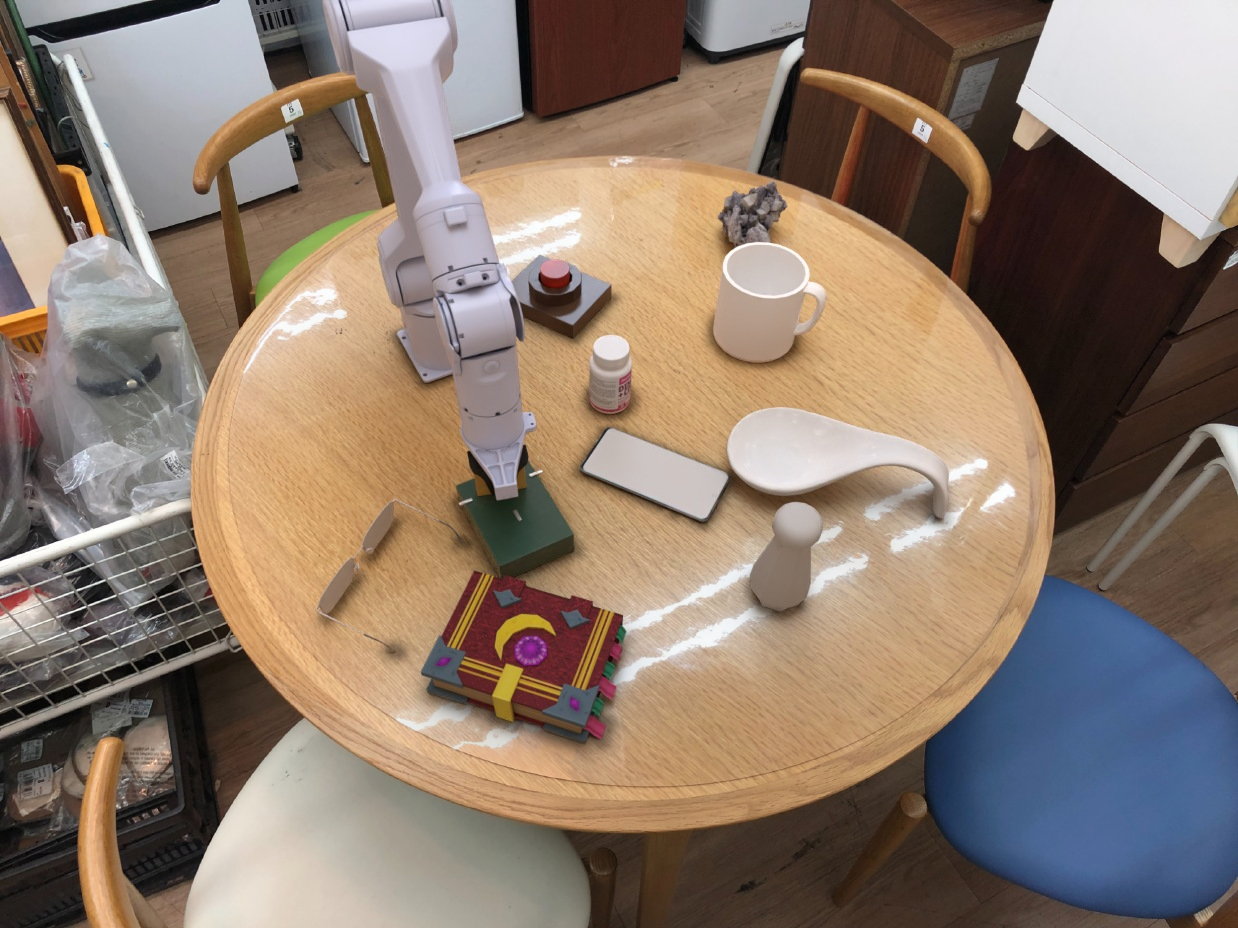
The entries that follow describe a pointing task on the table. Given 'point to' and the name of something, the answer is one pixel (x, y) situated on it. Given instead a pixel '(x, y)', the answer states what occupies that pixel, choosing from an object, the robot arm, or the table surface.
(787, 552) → the salt shaker
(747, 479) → the spoon rest
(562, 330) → the dark button base
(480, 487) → the red-dot tan block
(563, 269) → the button
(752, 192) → the mineral specimen
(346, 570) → the eyeglasses
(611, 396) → the pill bottle
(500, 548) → the dark green flat block
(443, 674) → the decorative book
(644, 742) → the table surface
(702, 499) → the smartphone
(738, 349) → the mug
